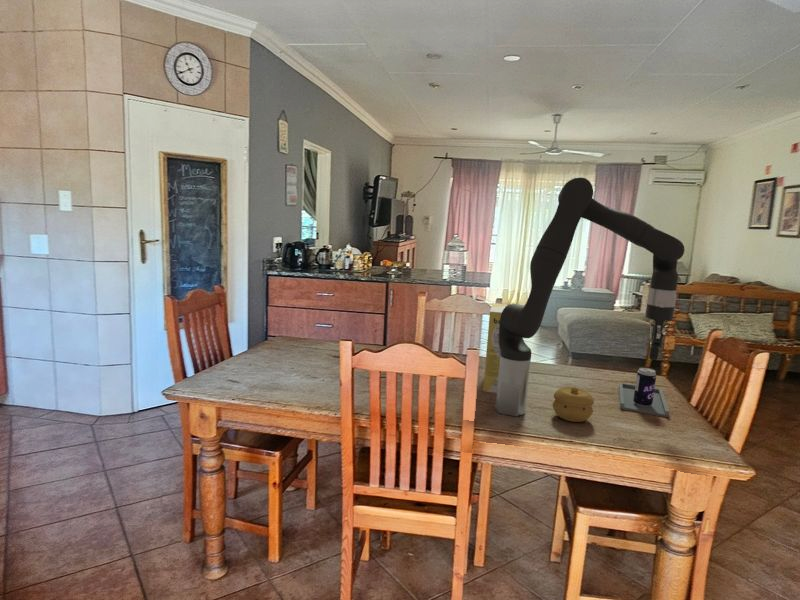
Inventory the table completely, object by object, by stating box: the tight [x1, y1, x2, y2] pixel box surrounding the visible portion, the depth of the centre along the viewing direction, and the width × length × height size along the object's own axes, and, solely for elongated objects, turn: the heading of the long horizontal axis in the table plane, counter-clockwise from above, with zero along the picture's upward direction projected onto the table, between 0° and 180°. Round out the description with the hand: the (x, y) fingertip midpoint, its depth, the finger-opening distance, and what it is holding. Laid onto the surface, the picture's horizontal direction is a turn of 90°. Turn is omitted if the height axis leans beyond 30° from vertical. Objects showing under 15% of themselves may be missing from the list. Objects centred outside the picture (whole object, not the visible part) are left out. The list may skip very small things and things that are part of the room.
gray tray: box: [618, 382, 670, 418], centre depth 173 cm, size 24×14×2 cm, turn 158°
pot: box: [552, 386, 595, 423], centre depth 153 cm, size 12×12×10 cm
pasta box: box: [482, 302, 509, 394], centre depth 179 cm, size 18×10×28 cm, turn 167°
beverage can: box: [633, 367, 657, 407], centre depth 166 cm, size 6×6×12 cm
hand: (652, 359), depth 156 cm, fingers closed
